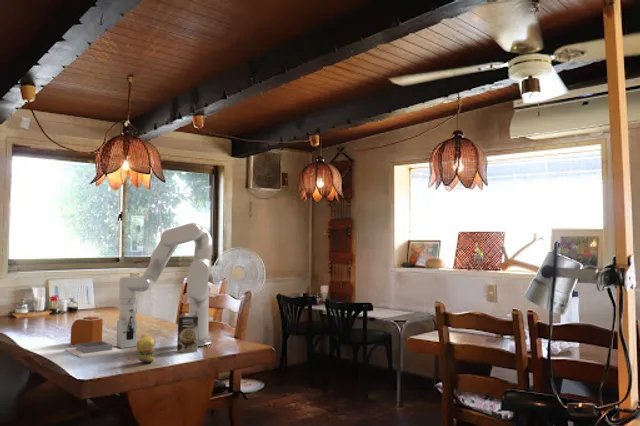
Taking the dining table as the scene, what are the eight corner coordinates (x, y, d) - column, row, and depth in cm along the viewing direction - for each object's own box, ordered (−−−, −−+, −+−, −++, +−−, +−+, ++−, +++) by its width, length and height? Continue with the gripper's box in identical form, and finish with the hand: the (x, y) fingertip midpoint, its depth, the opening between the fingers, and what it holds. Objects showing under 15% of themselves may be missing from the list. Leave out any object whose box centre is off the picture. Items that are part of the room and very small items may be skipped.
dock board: (123, 352, 236) (123, 345, 236) (82, 358, 224) (82, 350, 224) (104, 345, 254) (104, 338, 254) (65, 350, 241) (65, 343, 242)
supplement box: (121, 348, 246) (121, 321, 247) (116, 346, 251) (116, 320, 252) (136, 346, 250) (137, 320, 251) (131, 344, 256) (131, 318, 257)
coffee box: (177, 353, 235) (177, 317, 236) (177, 350, 241) (177, 315, 242) (197, 351, 237) (198, 316, 238) (197, 349, 243) (197, 314, 245)
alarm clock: (104, 344, 257) (105, 316, 258) (89, 347, 249) (89, 319, 250) (85, 341, 264) (86, 315, 265) (70, 344, 257) (71, 317, 258)
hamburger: (158, 361, 217) (159, 332, 217) (148, 365, 210) (149, 335, 210) (142, 360, 219) (143, 332, 219) (132, 364, 212) (132, 334, 212)
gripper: (142, 302, 249) (141, 339, 247) (127, 300, 261) (126, 335, 260) (126, 303, 244) (126, 341, 242) (112, 301, 256) (111, 337, 255)
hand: (126, 338), depth 251 cm, fingers closed on supplement box, 7 cm apart
